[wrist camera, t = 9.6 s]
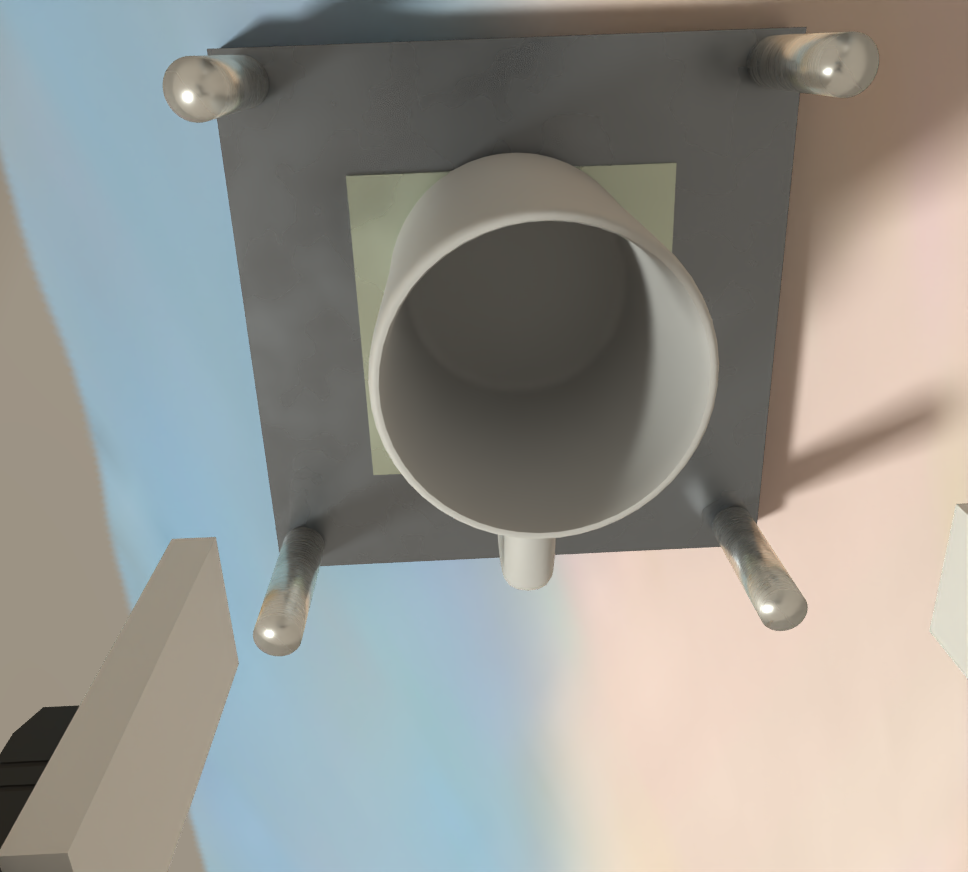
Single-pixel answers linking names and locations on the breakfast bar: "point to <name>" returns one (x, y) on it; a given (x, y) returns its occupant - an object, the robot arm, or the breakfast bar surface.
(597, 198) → the mug
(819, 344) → the breakfast bar surface
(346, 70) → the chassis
